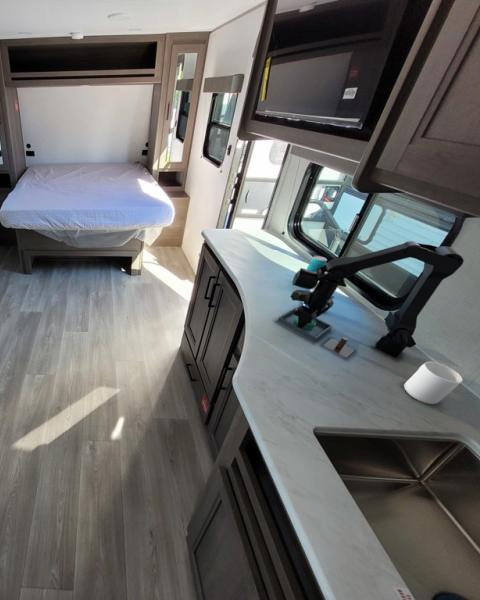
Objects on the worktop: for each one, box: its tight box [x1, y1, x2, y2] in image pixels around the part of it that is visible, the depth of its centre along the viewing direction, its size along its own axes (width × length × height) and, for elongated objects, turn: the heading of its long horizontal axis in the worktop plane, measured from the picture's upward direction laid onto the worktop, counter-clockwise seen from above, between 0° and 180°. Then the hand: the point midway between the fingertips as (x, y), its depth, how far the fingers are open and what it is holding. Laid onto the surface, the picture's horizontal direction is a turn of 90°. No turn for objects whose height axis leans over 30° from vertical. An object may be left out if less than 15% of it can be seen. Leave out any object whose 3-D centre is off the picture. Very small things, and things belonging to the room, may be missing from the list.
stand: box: [323, 336, 356, 359], centre depth 111 cm, size 8×8×5 cm
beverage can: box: [305, 255, 328, 272], centre depth 145 cm, size 6×6×15 cm
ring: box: [293, 315, 317, 332], centre depth 121 cm, size 6×6×3 cm
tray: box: [276, 307, 333, 343], centre depth 122 cm, size 14×13×2 cm
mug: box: [403, 361, 464, 405], centre depth 95 cm, size 12×8×10 cm
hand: (303, 324), depth 122 cm, fingers open, 8 cm apart
